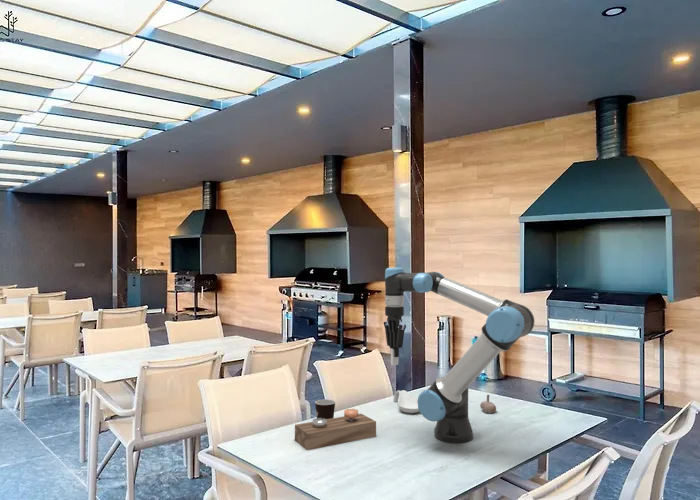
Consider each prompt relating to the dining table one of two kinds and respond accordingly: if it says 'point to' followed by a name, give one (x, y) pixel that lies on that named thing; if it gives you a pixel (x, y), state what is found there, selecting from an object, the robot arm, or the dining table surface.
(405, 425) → the dining table surface
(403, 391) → the spoon rest
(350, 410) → the terracotta plunger
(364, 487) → the dining table surface
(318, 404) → the coffee mug
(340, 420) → the button block
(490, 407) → the garlic bulb
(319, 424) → the grey plunger
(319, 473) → the dining table surface
